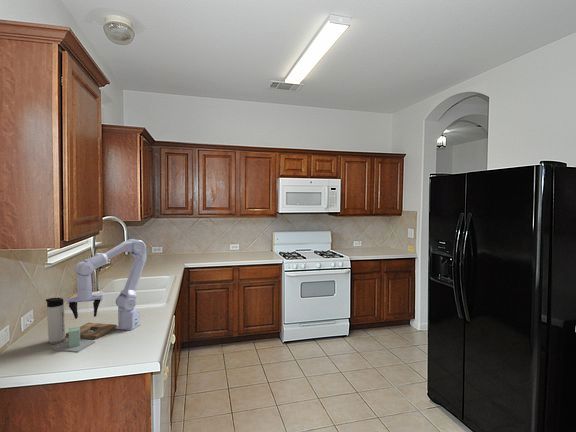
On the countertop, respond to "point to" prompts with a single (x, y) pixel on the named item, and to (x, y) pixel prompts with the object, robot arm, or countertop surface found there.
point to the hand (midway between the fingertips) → (85, 317)
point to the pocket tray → (99, 330)
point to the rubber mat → (77, 348)
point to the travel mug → (55, 320)
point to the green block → (74, 337)
